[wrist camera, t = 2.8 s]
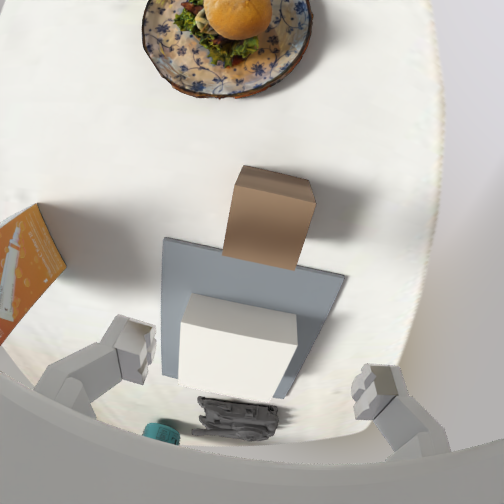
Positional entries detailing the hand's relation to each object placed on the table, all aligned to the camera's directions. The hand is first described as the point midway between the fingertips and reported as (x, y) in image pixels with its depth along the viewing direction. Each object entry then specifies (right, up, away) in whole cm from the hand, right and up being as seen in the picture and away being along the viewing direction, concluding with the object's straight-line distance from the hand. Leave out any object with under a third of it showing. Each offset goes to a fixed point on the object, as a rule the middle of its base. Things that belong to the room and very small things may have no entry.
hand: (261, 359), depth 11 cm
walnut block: (+1, +8, +13) cm, 15 cm away
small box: (-24, +5, +16) cm, 30 cm away
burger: (-2, +20, +6) cm, 21 cm away
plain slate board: (-2, -5, +20) cm, 21 cm away
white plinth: (-2, -5, +20) cm, 21 cm away
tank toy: (-3, -19, +30) cm, 36 cm away
